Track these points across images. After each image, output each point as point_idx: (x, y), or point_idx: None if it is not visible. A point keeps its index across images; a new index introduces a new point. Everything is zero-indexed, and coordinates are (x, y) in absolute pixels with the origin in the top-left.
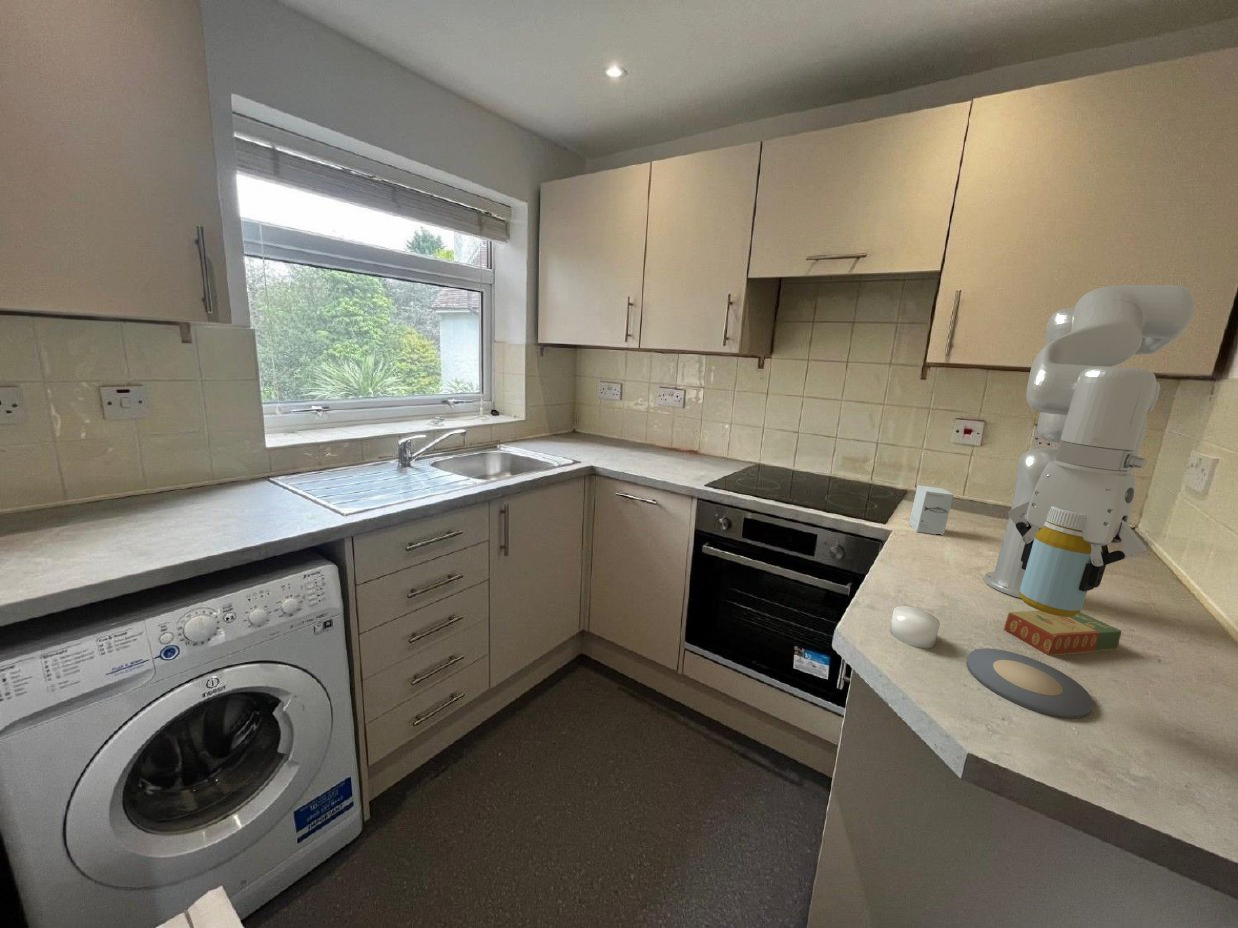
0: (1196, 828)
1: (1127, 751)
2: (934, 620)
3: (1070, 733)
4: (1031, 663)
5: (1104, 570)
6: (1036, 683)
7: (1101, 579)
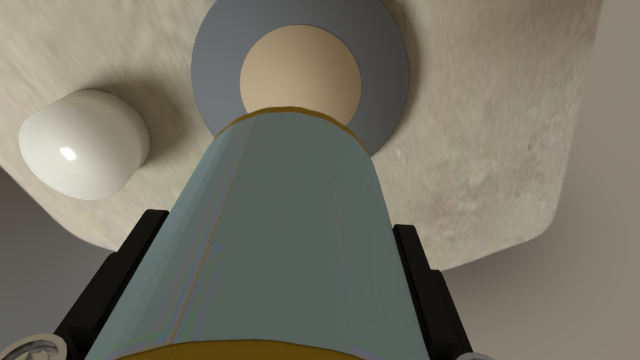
0: (529, 221)
1: (465, 137)
2: (98, 134)
3: (399, 172)
4: (276, 4)
5: (466, 335)
6: (321, 98)
7: (448, 290)
